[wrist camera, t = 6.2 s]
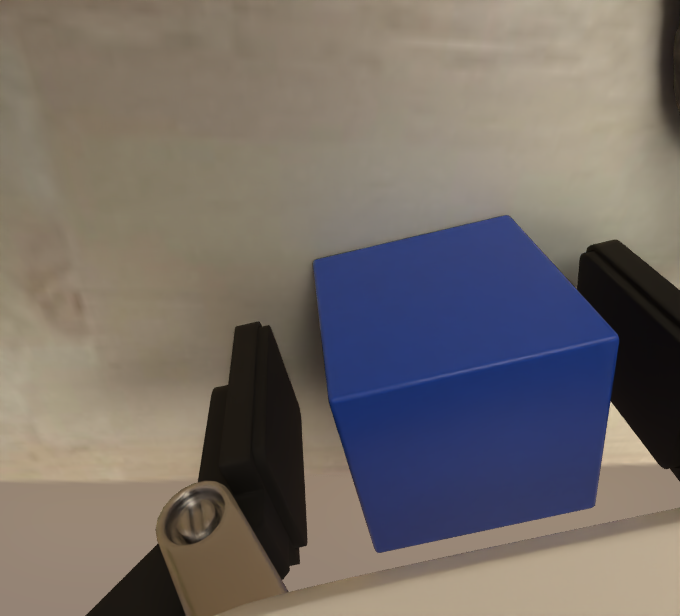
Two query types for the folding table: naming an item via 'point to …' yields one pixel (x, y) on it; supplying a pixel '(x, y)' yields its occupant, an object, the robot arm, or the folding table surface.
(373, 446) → the cube
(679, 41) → the rock
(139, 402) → the folding table surface
